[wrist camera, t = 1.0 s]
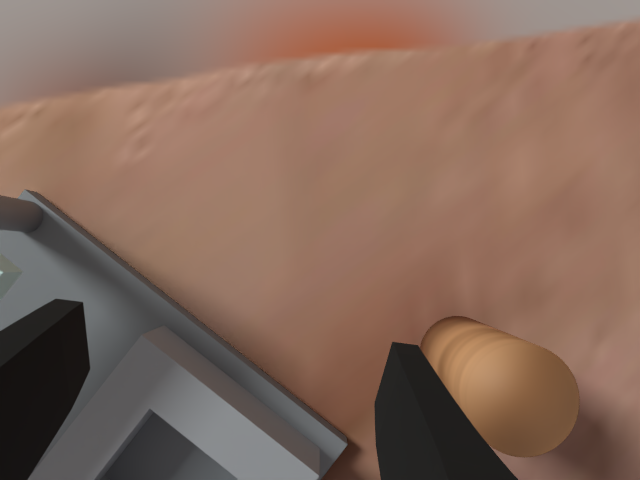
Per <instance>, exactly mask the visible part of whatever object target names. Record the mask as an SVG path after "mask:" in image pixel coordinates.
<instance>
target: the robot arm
mask: <svg viewBox="0 0 640 480" xmlns="http://www.w3.org/2000/svg"><path fill="white" fill-rule="evenodd" d="M89 371H90V360H89V351H88V342H87V333H86V323H85V314H84V305H83V302H79V301H71V300H64V299H54V300H52V301H51V302H49V303H47V304H45V305H43V306H42V307H40V308H38V309H36V310H35V311H33V312H31V313H30V314H28V315H26V316H24V317H23V318H21V319H19V320H18V321H16V322H14V323H13V324H11V325H9V326H8V327H6V328H4V329H3V330H1V331H0V480H28V478H29V477H30V475H31V473H32V472H33V470H34V469H35V467H36V465H37V464H38V462H39V461H40V459H41V458H42V456H43V454H44V453H45V451H46V450H47V448H48V447H49V445H50V443H51V442H52V440H53V439H54V437H55V435H56V434H57V432H58V431H59V429H60V427H61V426H62V424H63V423H64V421H65V419H66V418H67V416H68V414H69V413H70V411H71V410H72V407H73V405H74V403H75V401H76V399H77V397H78V395H79V393H80V391H81V389H82V387H83V384H84V382H85V380H86V378H87V375H88V373H89ZM375 433H376V448H377V456H378V462H379V469H380V476H381V480H518V479H517V478H516V477H515V476H514V475H513V473H512V472H511V471H510V470H509V469H508V468H507V467H506V465H505V464H504V463H503V462H502V461H501V460H500V458H499V457H498V456H497V455H496V454H495V452H494V451H493V450H492V449H491V447H490V446H489V445H488V444H487V442H486V441H485V440H484V439H483V438H482V436H481V435H480V434H479V432H478V431H477V430H476V428H475V427H474V426H473V425H472V423H471V422H470V420H469V419H468V418H467V416H466V415H465V414H464V412H463V411H462V409H461V408H460V407H459V405H458V404H457V403H456V401H455V400H454V398H453V397H452V395H451V394H450V393H449V391H448V390H447V388H446V387H445V385H444V384H443V382H442V381H441V379H440V378H439V376H438V375H437V373H436V372H435V370H434V369H433V367H432V366H431V364H430V363H429V361H428V360H427V358H426V357H425V355H424V354H423V352H422V351H421V349H420V348H419V347H418V345H412V344H404V343H396V342H392V345H391V349H390V352H389V355H388V359H387V362H386V366H385V369H384V373H383V376H382V380H381V383H380V386H379V390H378V393H377V397H376V400H375Z"/></svg>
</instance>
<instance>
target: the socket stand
mask: <svg viewBox="0 0 640 480" xmlns="http://www.w3.org/2000/svg"><path fill="white" fill-rule="evenodd" d="M54 299H64V300H71V301H79V302H83V305H84V314H85V323H86V333H87V342H88V351H89V360H90V371H89V373H88V375H87V378H86V380H85V382H84V384H83V387H82V389H81V391H80V393H79V395H78V397H77V399H76V401H75V403H74V405H73V407H72V410H71V411H70V413H69V414H68V416H67V418H66V419H65V421H64V423H63V424H62V426H61V427H60V429H59V431H58V432H57V434H56V435H55V437H54V439H53V440H52V442H51V443H50V445H49V447H48V448H47V450H46V451H45V453H44V454H43V456H42V458H41V459H40V461H39V462H38V464H37V465H36V467H35V469H34V470H33V472H32V473H31V475H30V477H29V478H28V480H321V479H322V477H323V476H324V475H325V474H326V472H327V471H328V470H329V468H330V467H331V466H332V464H333V463H334V462H335V460H336V459H337V458H338V456H339V455H340V454H341V453H342V451H343V450H344V449H345V447H346V446H347V445H348V444H347V437H346V436H345V435H343V434H342V433H341V432H340V431H338V430H337V429H336V428H334V427H333V426H332V425H331V424H329V423H328V422H327V421H326V420H324V419H323V418H322V417H321V416H319V415H318V414H317V413H315V412H314V411H313V410H312V409H310V408H309V407H308V406H307V405H305V404H304V403H303V402H302V401H300V400H299V399H298V398H296V397H295V396H294V395H293V394H291V393H290V392H289V391H288V390H286V389H285V388H284V387H283V386H281V385H280V384H279V383H277V382H276V381H275V380H274V379H272V378H271V377H270V376H269V375H267V374H266V373H265V372H264V371H262V370H261V369H260V368H259V367H257V366H256V365H255V364H253V363H252V362H251V361H250V360H248V359H247V358H246V357H245V356H243V355H242V354H241V353H240V352H238V351H237V350H236V349H234V348H233V347H232V346H231V345H229V344H228V343H227V342H226V341H224V340H223V339H222V338H221V337H219V336H218V335H217V334H215V333H214V332H213V331H212V330H210V329H209V328H208V327H207V326H205V325H204V324H203V323H202V322H200V321H199V320H198V319H196V318H195V317H194V316H193V315H191V314H190V313H189V312H188V311H186V310H185V309H184V308H183V307H181V306H180V305H179V304H178V303H176V302H175V301H174V300H172V299H171V298H170V297H169V296H167V295H166V294H165V293H164V292H162V291H161V290H160V289H159V288H157V287H156V286H155V285H153V284H152V283H151V282H150V281H148V280H147V279H146V278H145V277H143V276H142V275H141V274H140V273H138V272H137V271H136V270H134V269H133V268H132V267H131V266H129V265H128V264H127V263H126V262H124V261H123V260H122V259H121V258H119V257H118V256H117V255H116V254H114V253H113V252H112V251H110V250H109V249H108V248H107V247H105V246H104V245H103V244H102V243H100V242H99V241H98V240H97V239H95V238H94V237H93V236H91V235H90V234H89V233H88V232H86V231H85V230H84V229H83V228H81V227H80V226H79V225H78V224H76V223H75V222H74V221H72V220H71V219H70V218H69V217H67V216H66V215H65V214H64V213H62V212H61V211H60V210H59V209H57V208H56V207H55V206H53V205H52V204H51V203H50V202H48V201H47V200H46V199H45V198H43V197H42V196H41V195H40V194H38V193H37V192H34V191H29V190H24V191H23V192H22V193H21V195H20V196H19V197H18V198H17V199H16V198H11V197H6V196H1V195H0V331H1V330H3V329H4V328H6V327H8V326H9V325H11V324H13V323H14V322H16V321H18V320H19V319H21V318H23V317H24V316H26V315H28V314H30V313H31V312H33V311H35V310H36V309H38V308H40V307H42V306H43V305H45V304H47V303H49V302H51V301H52V300H54Z"/></svg>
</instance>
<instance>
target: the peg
mask: <svg viewBox="0 0 640 480" xmlns="http://www.w3.org/2000/svg"><path fill="white" fill-rule="evenodd" d="M420 349H421V351H422V352H423V354H424V355H425V357H426V358H427V360H428V361H429V363H430V364H431V366H432V367H433V369H434V370H435V372H436V373H437V375H438V376H439V378H440V379H441V381H442V382H443V384H444V385H445V387H446V388H447V390H448V391H449V393H450V394H451V395H452V397H453V398H454V400H455V401H456V403H457V404H458V405H459V407H460V408H461V409H462V411H463V412H464V414H465V415H466V416H467V418H468V419H469V420H470V422H471V423H472V425H473V426H474V427H475V428H476V430H477V431H478V432H479V434H480V435H481V436H482V438H483V439H484V440H485V441H486V442H487V443H488V444H489V445H490V446H491V447H493V448H494V449H496V450H498V451H500V452H502V453H504V454H507V455H511V456H515V457H533V456H538V455H541V454H544V453H547V452H549V451H551V450H553V449H554V448H556V447H557V446H558V445H560V444H561V443H562V442H563V441H564V440H565V439H566V437H567V436H568V435H569V434H570V432H571V430H572V429H573V427H574V425H575V423H576V419H577V416H578V412H579V391H578V387H577V383H576V381H575V378H574V376H573V374H572V372H571V371H570V369H569V368H568V366H567V365H566V364H565V363H564V362H563V360H561V359H560V358H559V357H558V356H557V355H555V354H554V353H552V352H551V351H549V350H547V349H545V348H543V347H540V346H538V345H535V344H533V343H530V342H528V341H525V340H523V339H520V338H518V337H515V336H513V335H510V334H508V333H505V332H503V331H500V330H498V329H495V328H493V327H490V326H488V325H485V324H483V323H480V322H478V321H475V320H473V319H470V318H467V317H462V316H452V317H447V318H444V319H442V320H440V321H438V322H436V323H435V324H434V325H433V326H431V327H430V329H429V330H428V331H427V332H426V334H425V335H424V337H423V340H422V343H421V346H420Z"/></svg>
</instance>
